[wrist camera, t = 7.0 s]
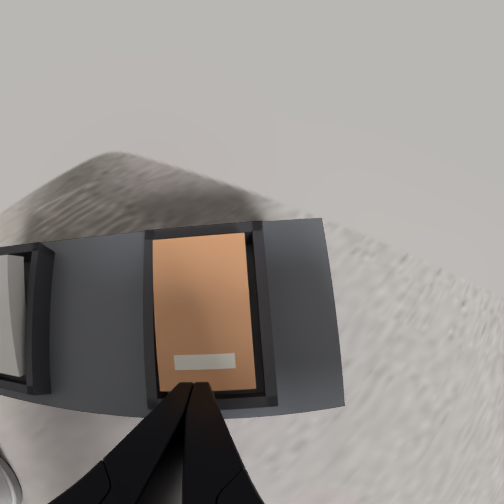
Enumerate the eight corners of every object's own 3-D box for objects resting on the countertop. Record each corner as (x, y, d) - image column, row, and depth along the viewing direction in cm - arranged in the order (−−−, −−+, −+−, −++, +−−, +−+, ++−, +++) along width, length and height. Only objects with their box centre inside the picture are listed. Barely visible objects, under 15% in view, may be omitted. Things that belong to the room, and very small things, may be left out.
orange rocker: (255, 382, 11) (256, 388, 9) (169, 384, 11) (159, 391, 9) (245, 241, 12) (244, 232, 11) (161, 248, 12) (152, 239, 11)
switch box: (307, 387, 19) (355, 411, 10) (46, 384, 19) (-51, 383, 9) (296, 272, 22) (328, 203, 12) (46, 287, 22) (-42, 243, 12)
